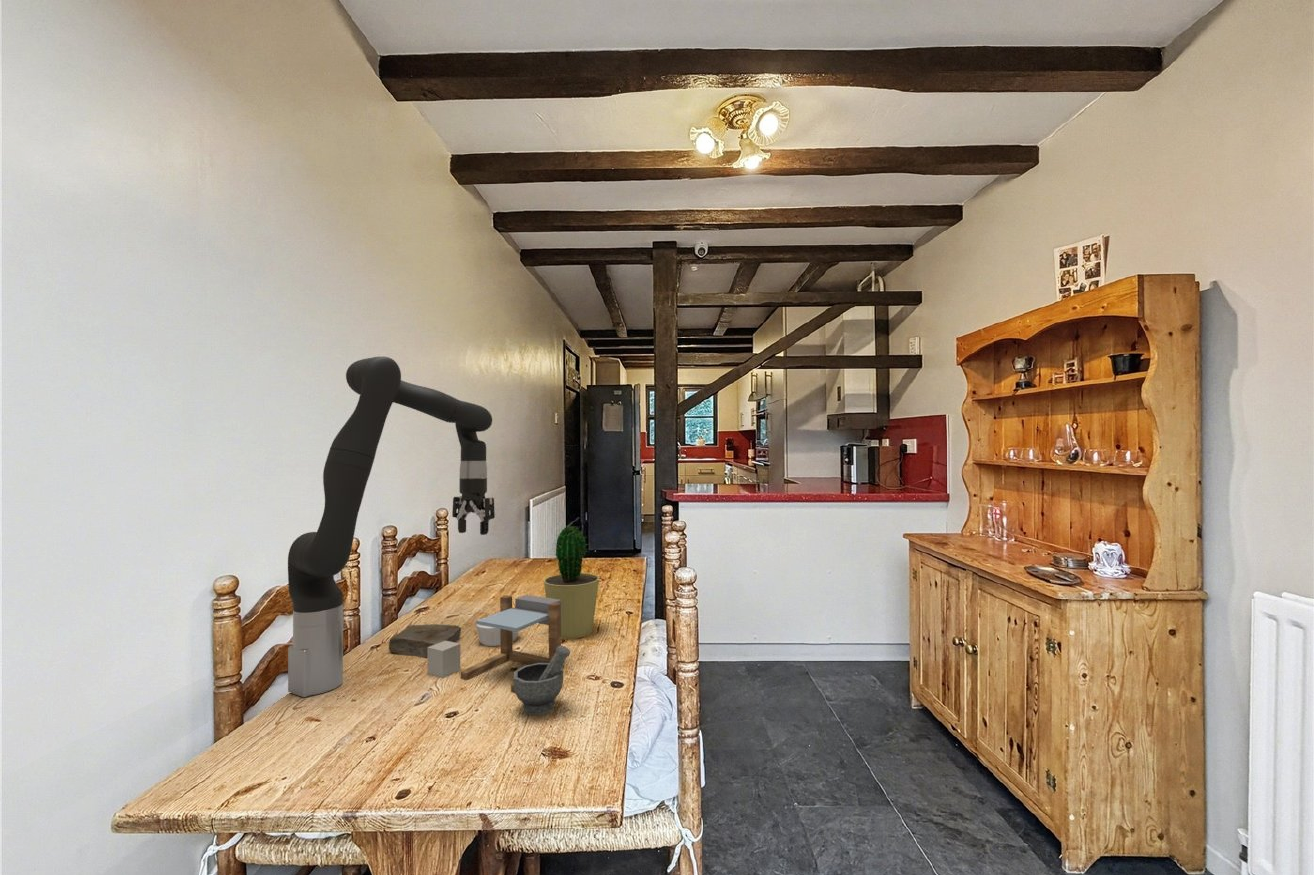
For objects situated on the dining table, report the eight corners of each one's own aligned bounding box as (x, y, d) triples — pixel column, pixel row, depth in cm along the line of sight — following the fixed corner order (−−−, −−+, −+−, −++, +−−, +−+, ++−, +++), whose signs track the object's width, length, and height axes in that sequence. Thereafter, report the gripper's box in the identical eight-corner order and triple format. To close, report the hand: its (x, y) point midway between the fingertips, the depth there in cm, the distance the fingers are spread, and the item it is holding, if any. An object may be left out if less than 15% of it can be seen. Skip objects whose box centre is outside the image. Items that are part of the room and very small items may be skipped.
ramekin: (467, 645, 140) (467, 625, 141) (493, 632, 151) (493, 613, 151) (503, 650, 137) (503, 629, 137) (527, 636, 147) (527, 616, 148)
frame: (518, 693, 112) (517, 620, 112) (460, 678, 120) (460, 610, 120) (563, 667, 125) (562, 602, 125) (508, 655, 133) (508, 594, 133)
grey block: (442, 678, 120) (442, 650, 120) (427, 674, 123) (427, 647, 123) (460, 669, 125) (460, 643, 125) (445, 666, 127) (445, 640, 127)
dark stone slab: (438, 660, 131) (437, 643, 132) (379, 660, 132) (379, 643, 132) (465, 636, 148) (465, 621, 148) (413, 637, 149) (413, 621, 149)
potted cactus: (576, 645, 139) (575, 529, 140) (532, 636, 147) (531, 526, 148) (610, 628, 152) (609, 522, 153) (568, 620, 160) (567, 519, 161)
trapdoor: (517, 641, 115) (517, 618, 115) (476, 633, 121) (476, 611, 121) (563, 621, 129) (563, 600, 129) (524, 614, 135) (524, 594, 135)
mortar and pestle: (505, 719, 101) (505, 654, 101) (521, 696, 110) (521, 637, 110) (564, 720, 100) (564, 655, 100) (576, 697, 109) (575, 638, 110)
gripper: (445, 477, 154) (444, 533, 153) (481, 477, 147) (481, 536, 147) (465, 476, 161) (465, 530, 160) (501, 476, 154) (501, 533, 153)
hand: (473, 533), depth 153 cm, fingers open, 8 cm apart
